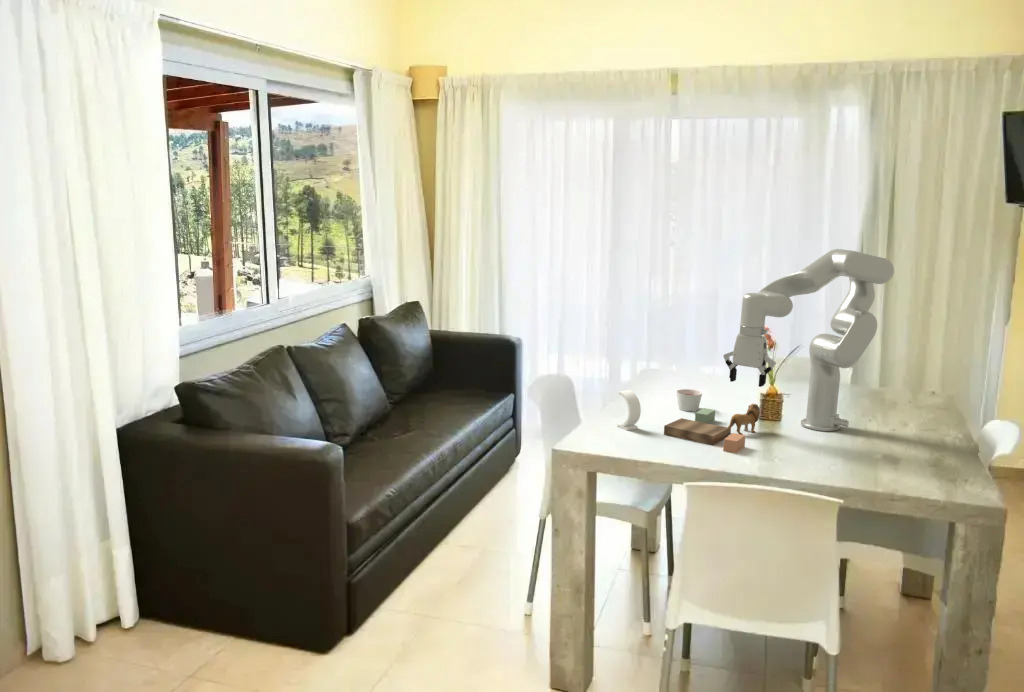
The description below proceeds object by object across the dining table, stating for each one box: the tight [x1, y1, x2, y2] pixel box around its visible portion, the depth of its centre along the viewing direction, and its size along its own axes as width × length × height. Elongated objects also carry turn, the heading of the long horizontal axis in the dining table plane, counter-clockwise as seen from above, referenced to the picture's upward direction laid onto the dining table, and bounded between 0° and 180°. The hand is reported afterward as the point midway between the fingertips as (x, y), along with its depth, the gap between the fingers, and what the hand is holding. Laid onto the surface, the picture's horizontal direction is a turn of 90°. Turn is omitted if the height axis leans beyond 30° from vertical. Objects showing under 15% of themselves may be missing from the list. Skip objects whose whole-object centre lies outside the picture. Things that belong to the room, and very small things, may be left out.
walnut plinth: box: [663, 417, 729, 446], centre depth 273 cm, size 17×12×3 cm
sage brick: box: [694, 407, 716, 424], centre depth 290 cm, size 8×4×4 cm, turn 146°
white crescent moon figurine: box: [617, 389, 642, 431], centre depth 280 cm, size 5×6×12 cm
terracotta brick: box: [722, 432, 747, 454], centre depth 260 cm, size 8×4×4 cm, turn 146°
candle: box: [676, 388, 703, 412], centre depth 306 cm, size 9×9×6 cm
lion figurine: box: [727, 403, 761, 435], centre depth 278 cm, size 15×5×9 cm, turn 130°
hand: (746, 383), depth 276 cm, fingers open, 9 cm apart
